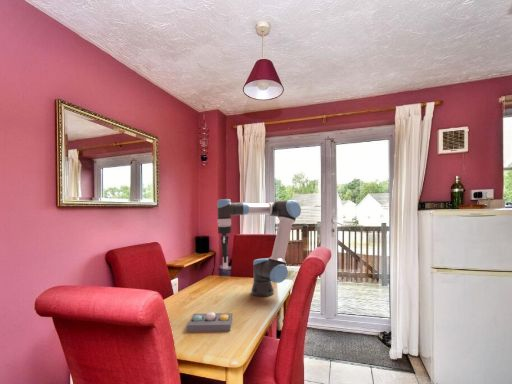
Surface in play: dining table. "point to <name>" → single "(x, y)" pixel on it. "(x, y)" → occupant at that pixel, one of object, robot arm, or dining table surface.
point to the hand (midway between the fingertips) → (225, 268)
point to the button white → (210, 316)
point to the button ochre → (224, 317)
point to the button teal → (197, 318)
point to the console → (209, 324)
